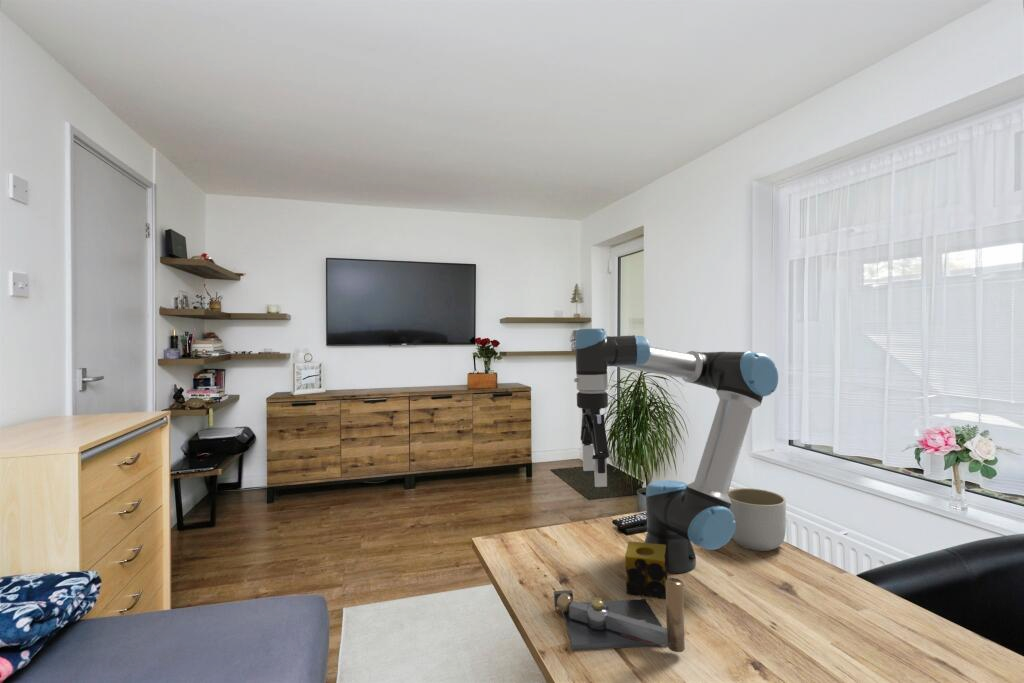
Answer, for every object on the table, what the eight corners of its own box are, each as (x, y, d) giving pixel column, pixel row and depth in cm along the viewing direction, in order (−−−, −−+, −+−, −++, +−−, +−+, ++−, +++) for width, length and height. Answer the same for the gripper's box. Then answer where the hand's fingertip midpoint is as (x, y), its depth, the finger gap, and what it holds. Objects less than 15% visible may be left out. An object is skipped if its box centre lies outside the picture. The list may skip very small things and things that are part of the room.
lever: (686, 642, 99) (685, 578, 99) (681, 656, 94) (680, 589, 95) (575, 609, 112) (574, 553, 112) (567, 620, 108) (565, 561, 108)
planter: (719, 532, 158) (718, 487, 158) (773, 534, 155) (772, 488, 155) (736, 555, 141) (734, 504, 141) (797, 557, 138) (795, 506, 138)
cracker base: (645, 603, 116) (644, 576, 116) (672, 649, 99) (671, 617, 99) (554, 608, 115) (553, 581, 115) (565, 655, 98) (564, 623, 98)
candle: (668, 581, 127) (667, 544, 127) (667, 601, 118) (666, 560, 118) (629, 576, 131) (628, 540, 131) (625, 594, 121) (624, 556, 121)
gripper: (568, 387, 128) (570, 465, 128) (587, 397, 103) (590, 494, 103) (595, 386, 128) (598, 464, 128) (621, 396, 103) (623, 493, 103)
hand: (594, 478), depth 116 cm, fingers open, 13 cm apart
